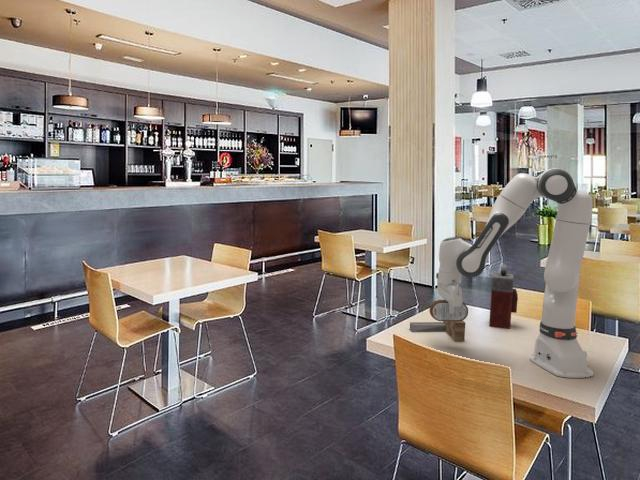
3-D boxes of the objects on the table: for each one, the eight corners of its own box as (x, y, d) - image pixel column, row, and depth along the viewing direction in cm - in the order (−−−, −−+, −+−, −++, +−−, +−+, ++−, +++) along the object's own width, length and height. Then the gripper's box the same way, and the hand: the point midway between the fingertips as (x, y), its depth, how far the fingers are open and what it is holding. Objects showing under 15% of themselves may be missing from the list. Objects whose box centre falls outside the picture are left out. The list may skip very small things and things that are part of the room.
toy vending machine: (515, 329, 216) (520, 268, 212) (489, 326, 220) (493, 266, 216) (515, 323, 225) (520, 264, 220) (490, 320, 229) (494, 262, 224)
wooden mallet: (464, 341, 201) (465, 322, 200) (419, 341, 200) (419, 323, 199) (451, 328, 217) (452, 311, 216) (409, 328, 216) (410, 311, 215)
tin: (466, 320, 196) (467, 299, 196) (469, 322, 193) (469, 300, 192) (429, 320, 196) (429, 299, 196) (430, 321, 193) (430, 300, 193)
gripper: (467, 283, 182) (466, 319, 184) (449, 272, 203) (448, 304, 205) (450, 283, 182) (449, 319, 184) (434, 272, 202) (434, 305, 204)
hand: (449, 311), depth 194 cm, fingers closed on tin, 3 cm apart
